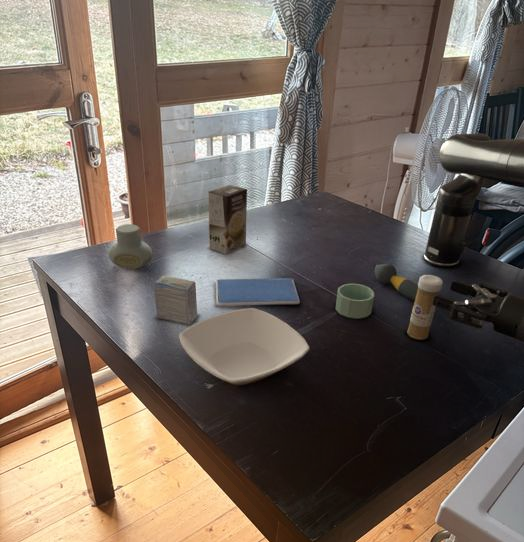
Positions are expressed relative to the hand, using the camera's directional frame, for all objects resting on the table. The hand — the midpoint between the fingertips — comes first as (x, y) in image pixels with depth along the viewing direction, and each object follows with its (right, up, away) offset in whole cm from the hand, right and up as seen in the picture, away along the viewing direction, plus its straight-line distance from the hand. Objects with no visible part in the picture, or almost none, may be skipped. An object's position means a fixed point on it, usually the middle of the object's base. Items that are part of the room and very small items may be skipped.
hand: (443, 292), depth 103 cm
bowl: (-40, -14, -2) cm, 42 cm away
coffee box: (-46, +18, +43) cm, 65 cm away
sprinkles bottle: (-3, -9, +8) cm, 12 cm away
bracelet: (-15, -2, +16) cm, 22 cm away
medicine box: (-55, -5, +11) cm, 56 cm away
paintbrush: (-2, +3, +25) cm, 25 cm away
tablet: (-38, +2, +21) cm, 43 cm away
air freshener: (-70, +10, +31) cm, 78 cm away
